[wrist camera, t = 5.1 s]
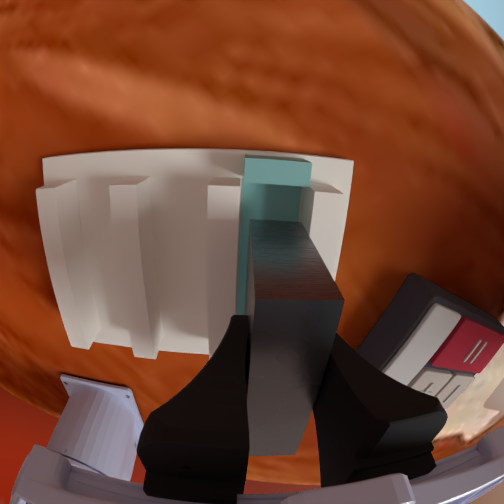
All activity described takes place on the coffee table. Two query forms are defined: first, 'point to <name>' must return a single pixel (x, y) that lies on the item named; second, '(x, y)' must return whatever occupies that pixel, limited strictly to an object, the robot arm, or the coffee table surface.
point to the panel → (285, 333)
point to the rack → (174, 237)
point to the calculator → (432, 340)
